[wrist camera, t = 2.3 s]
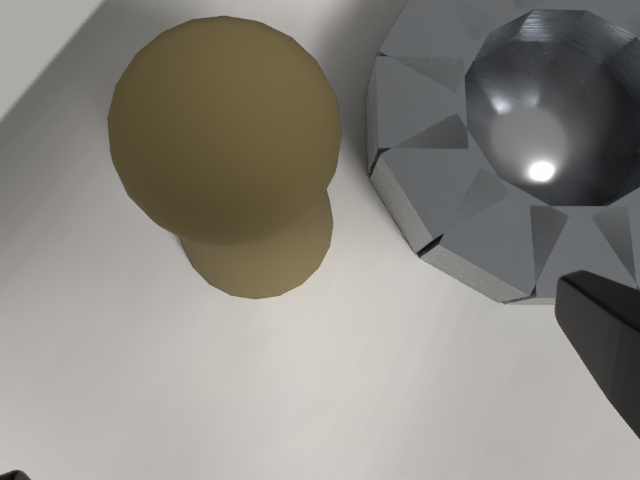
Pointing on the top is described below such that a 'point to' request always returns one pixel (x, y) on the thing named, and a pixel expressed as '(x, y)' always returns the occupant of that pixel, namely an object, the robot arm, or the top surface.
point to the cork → (231, 150)
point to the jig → (511, 140)
